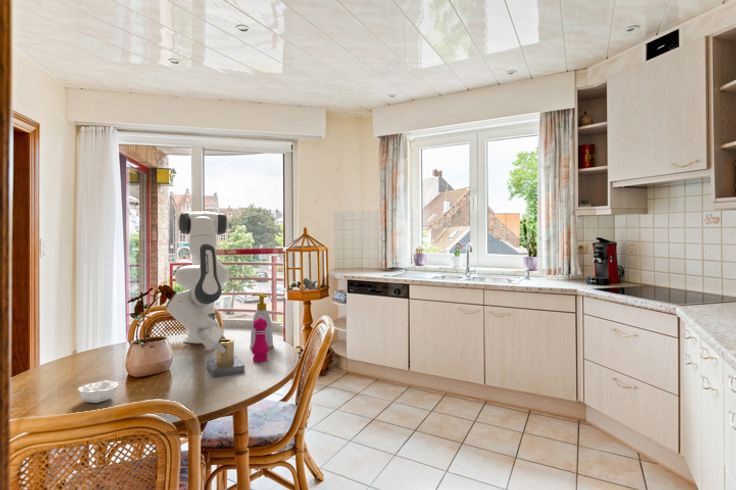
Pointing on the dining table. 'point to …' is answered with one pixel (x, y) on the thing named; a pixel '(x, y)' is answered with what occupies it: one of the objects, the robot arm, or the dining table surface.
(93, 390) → the cell model
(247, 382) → the dining table surface
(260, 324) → the pepper mill
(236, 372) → the shaft block
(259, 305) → the soap bottle
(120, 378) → the dining table surface
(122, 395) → the dining table surface
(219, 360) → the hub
